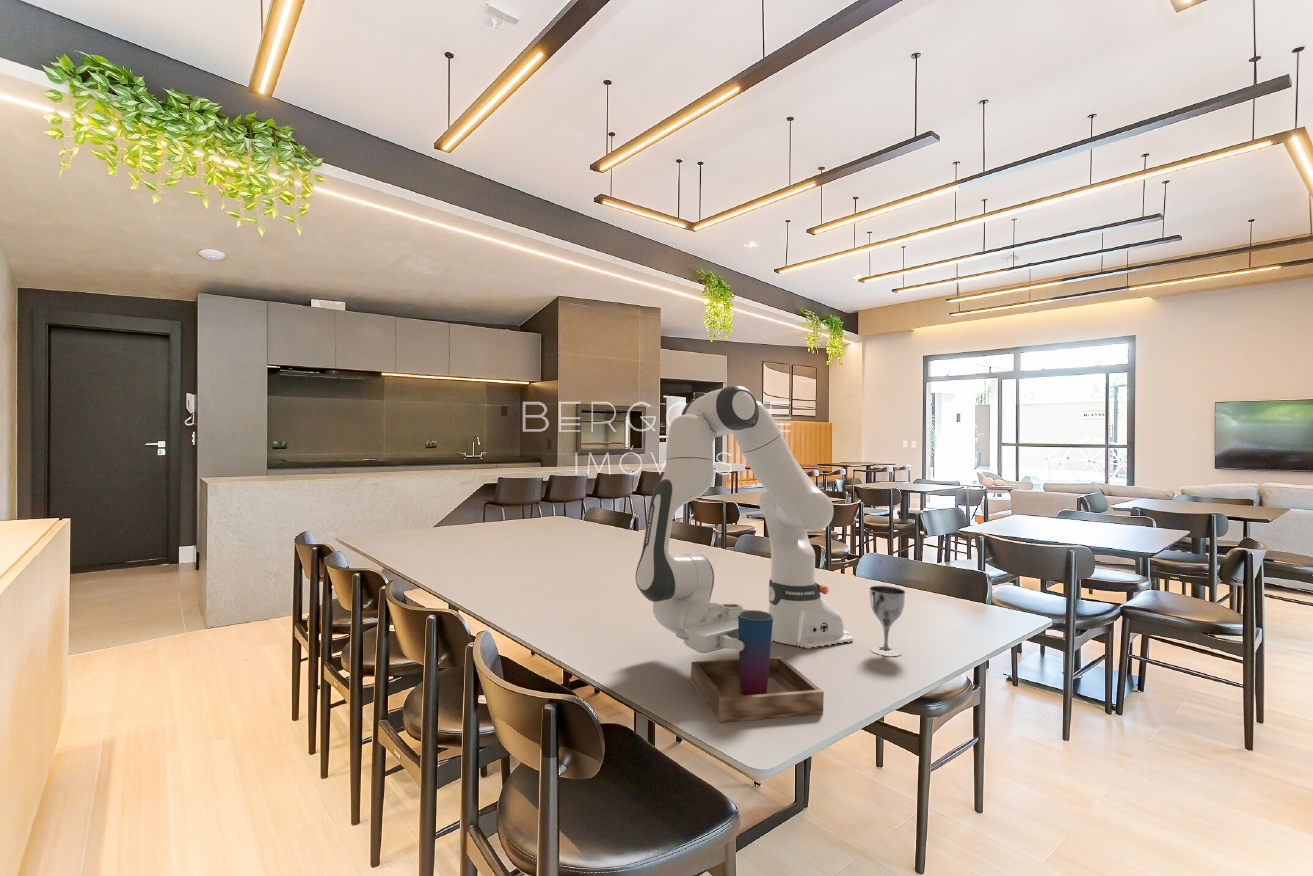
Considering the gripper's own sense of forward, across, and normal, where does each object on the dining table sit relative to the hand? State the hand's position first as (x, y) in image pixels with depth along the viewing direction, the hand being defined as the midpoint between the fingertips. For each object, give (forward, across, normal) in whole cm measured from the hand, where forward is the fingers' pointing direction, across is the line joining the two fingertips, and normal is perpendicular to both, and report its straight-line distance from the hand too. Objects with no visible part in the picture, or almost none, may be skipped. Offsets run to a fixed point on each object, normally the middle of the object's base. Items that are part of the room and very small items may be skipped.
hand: (757, 642), depth 112 cm
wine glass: (0, +46, +11) cm, 47 cm away
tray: (-1, 0, +11) cm, 11 cm away
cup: (-1, 0, +10) cm, 10 cm away
